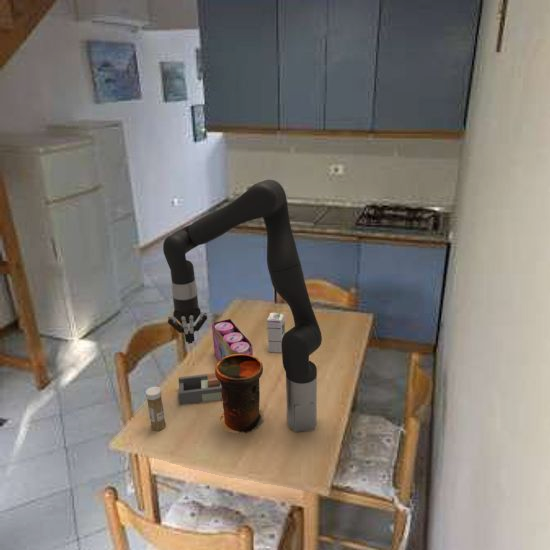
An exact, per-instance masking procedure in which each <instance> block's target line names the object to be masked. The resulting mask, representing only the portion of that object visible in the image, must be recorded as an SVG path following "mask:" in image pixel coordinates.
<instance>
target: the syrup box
mask: <svg viewBox="0 0 550 550" xmlns="http://www.w3.org/2000/svg"><path fill="white" fill-rule="evenodd" d="M285 325H286V324H285V314H284V313H280V312H270V313H269V315H268V316H267V319H266V329H267V344H268V345H267V346H268V352H270V353H276V354H277V353H279V354H282V347H281V343H282V338H283V335H284V334H285V333H286V327H285Z"/></svg>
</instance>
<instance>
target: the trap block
mask: <svg viewBox="0 0 550 550" xmlns="http://www.w3.org/2000/svg"><path fill="white" fill-rule="evenodd" d="M213 373H214V374H211V373H206V374H207V378H208V388H211V387H219V386H220V381H219V380H218V379H217V378H216V375H215V372H213Z"/></svg>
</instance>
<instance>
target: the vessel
mask: <svg viewBox="0 0 550 550" xmlns="http://www.w3.org/2000/svg"><path fill="white" fill-rule="evenodd" d="M215 365H216V366H215V368H214V373H215V375H216V378H217V379H218V380H219V381H220V384H221V386H222V388H221V393H222V400H221V401H222V408H223V413H222V414H221V415H222V416H219V419H220V421H221V422H220V425H221V426H222V427H223V429H224V430H225V431H226V432H230V433H233V434H237V433H238V434H241V433H245V434H247V433H251V432H253V431H256V430H258V428H259V427H260V426H261V425H262V424H263V423H264V421H265V418H263V416H264V414H263V410H262V409H260V402H261V400H260V399H261V398H260V397H261V396H260V394H261V393H260V378H261V377H262V375H263V373H264V371H263V370H264V366H263V363H262V362H261V360H260V359H259V358H258V357H257V356H255V355H253V356H251V355H248V354H233V355H229V356H226V357H224V358H223V359H222V360H220V361H219V360H218V362H217V363H216V364H215Z"/></svg>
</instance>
